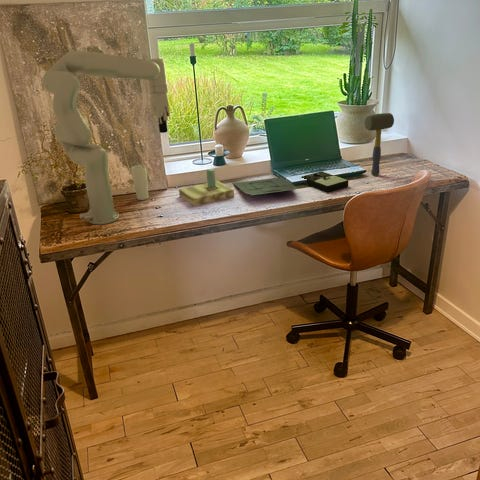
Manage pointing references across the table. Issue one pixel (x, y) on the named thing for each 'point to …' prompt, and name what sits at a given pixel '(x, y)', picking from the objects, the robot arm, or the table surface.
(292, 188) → the dark green panel
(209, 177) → the dowel
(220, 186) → the olive green slab
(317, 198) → the table surface
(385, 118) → the rubber mallet
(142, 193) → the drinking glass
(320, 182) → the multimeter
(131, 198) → the table surface
